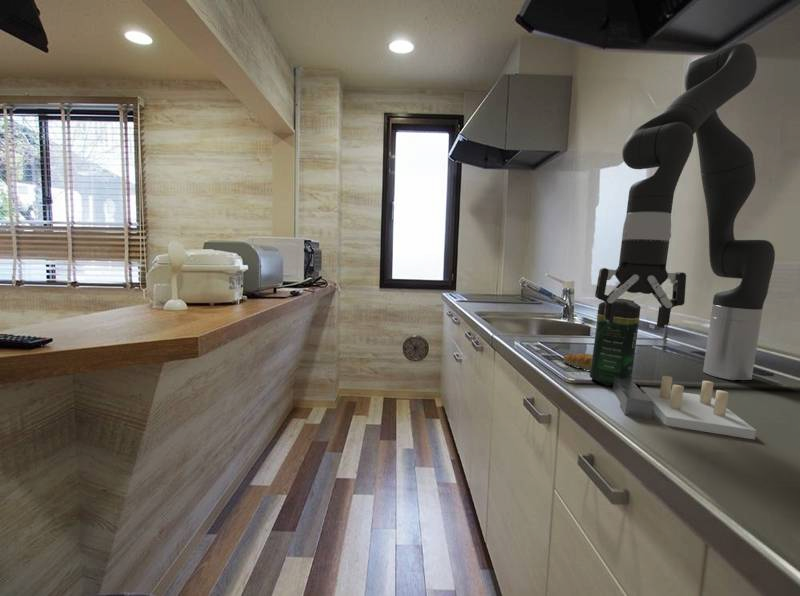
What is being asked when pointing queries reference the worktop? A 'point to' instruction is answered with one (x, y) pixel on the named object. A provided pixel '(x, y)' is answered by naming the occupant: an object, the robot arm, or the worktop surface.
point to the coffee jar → (615, 342)
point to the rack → (697, 410)
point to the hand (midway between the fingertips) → (634, 324)
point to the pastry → (579, 360)
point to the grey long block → (632, 398)
